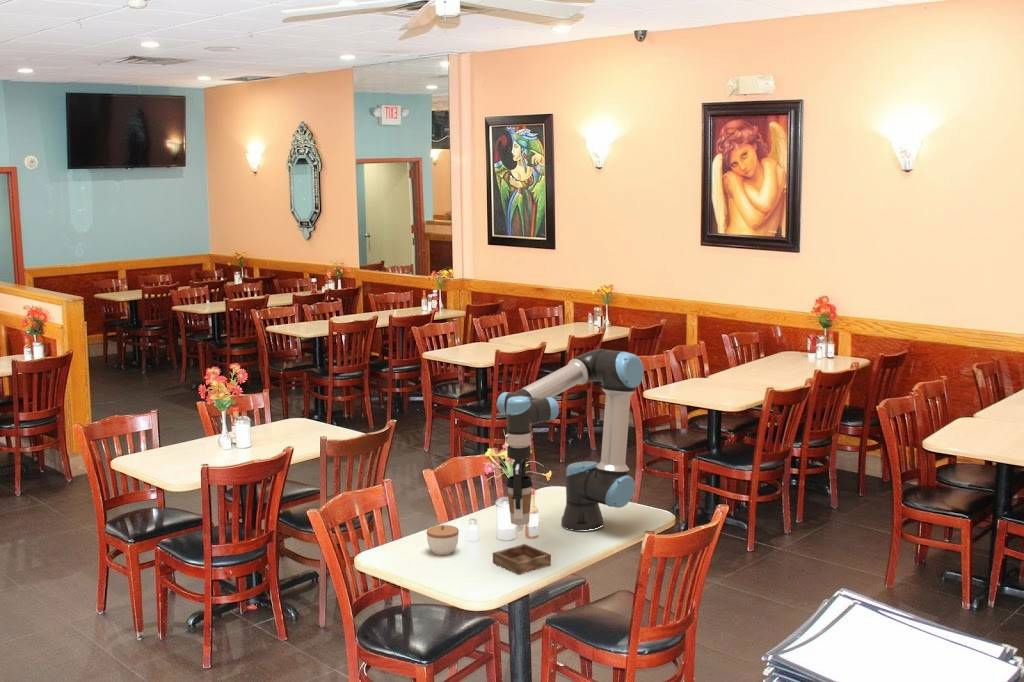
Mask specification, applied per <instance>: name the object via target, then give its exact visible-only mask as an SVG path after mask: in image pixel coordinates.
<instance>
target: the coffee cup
mask: <svg viewBox="0 0 1024 682" xmlns="http://www.w3.org/2000/svg"><path fill="white" fill-rule="evenodd" d="M521 482H522V498H523V519H514V499H512V498H511V497H513V475H511V476H509V477H507V482H506V487H507V499H508V506H509V515H510V516H509V517H510V523H511V524H512V525H515V526H525V525H528V524H529V522H530V514H531V504H532V503H531V501H532V487H533V482H532V478H531V476H528V475H526V476H524V478H522V480H521Z"/></svg>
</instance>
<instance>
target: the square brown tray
mask: <svg viewBox="0 0 1024 682" xmlns="http://www.w3.org/2000/svg"><path fill="white" fill-rule="evenodd" d="M493 563H494V564H493ZM492 564H493V565H495V564H496V566H497V567H500V566H501V568H502V569H504V568H505V569H504V570H507V571H509V572H511V571H512V573H513V572H514V573H513V574H515V573H516V575H517V576H520V575H523V574H526V573H525V572H527V573H529V571H530V572H533V571H536V569H537V570H539V569H542V568H547V567H549V566H551V565H552V554H550V553H548V552H545V551H543V550H540V549H538V548H535V547H533V546H530V545H529V544H526V543H522V544H520V545H516V546H513V547H509V548H504V549H502V550H498V551H495V552H494V551H493V552H492ZM546 566H547V567H546ZM532 570H533V571H532ZM522 573H523V574H522ZM519 574H520V575H519Z"/></svg>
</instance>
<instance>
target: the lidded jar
mask: <svg viewBox="0 0 1024 682" xmlns="http://www.w3.org/2000/svg"><path fill="white" fill-rule="evenodd" d="M459 532H460V530H459V528H458V527H456V526H454V525H449V524H447V525H446V524H439V525H434V526H431V527H428V528H427V530H426V540H427V545H428V547H429V549H430V550H431V551H432V552H433V553H434V555H437V554H439V555H438V556H447V555H446V554H448V555H450V553H451V552H452V553H453V551H454V550H455V549H457V545H458V542H459ZM452 553H451V554H452Z"/></svg>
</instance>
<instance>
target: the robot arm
mask: <svg viewBox="0 0 1024 682" xmlns="http://www.w3.org/2000/svg"><path fill="white" fill-rule="evenodd" d="M644 370H645V367H644V365H643V362H642V360H641V359H640V358H639V356H638V355H636V354H635V353H632V352H631V353H630V352H628V351H622V350H621V351H619V350H612V349H604V348H599V349H594V350H590V351H587V352H584V353H582V354H580V355H578V356H575V357H574V358H572V359H570V360H569V361H568V363H567V365H565V366H563V367H561V368H559V369H556V370H555V371H553V372H551V373H549V374H547V375H545V376H543V377H542V378H539V379H538V380H536V381H534V382H532V383H530V384H528V385H526V386H524V387H522V388H521V389H519V390H516V391H514V392H509V391H508V392H507V391H504V392H502V393H501V394H500V395H499V396H498V398H497V401H496V406H497V407H496V408H497V410H498V412H499V413H501V414H503V415H505V416H506V433H507V434H505V435H504V436H505V437H504V438H506V439H507V446H506V447H507V448H506V452H507V458H508V459H510V460H514V461H513V463H512V476H513V497H511V498H512V499H514V519H523V498H522V482H521V480H522V478H524V476H527V475H526V472H527V470H526V466H527V462H526V460H528V459H530V458H531V455H532V447H531V444H532V439H531V436H532V435H531V434H532V433H531V429H532V428H531V425H536V424H539V423H540V424H541V423H545V422H549V421H553V420H555V419H556V418H557V417H558V416H559V414H560V405H559V403H558V401H557V400H556V399H555V398H553V397H556V396H558V395H560V394H562V393H563V392H565V391H567V390H569V389H571V388H573V387H574V386H576V385H577V386H578V385H585V384H586V383H589V382H599V383H601V390H602V391H603V392H604V394H605V402H604V415H603V425H602V426H603V430H602V441H601V442H602V443H601V453H600V454H601V455H600V462H599V463H598V461H597V462H596V461H587V460H585V461H578V462H572V463H570V464H568V465H567V467H566V471H565V474H566V475H565V495H566V502H565V507H564V510H563V515H562V517H561V527H562V526H563V528H564V527H565V528H568V529H573V530H589V529H595V528H598V527H600V526H602V525H603V526H604V517H603V515H602V511H601V507H600V505H599V504H602V505H605V506H608V507H609V508H610V507H611V508H617V509H618V508H619V509H620V508H623V507H625V506H626V505H628V504H629V503H630V501H631V500H632V499H633V497H634V494H635V489H636V482H635V481H634V478H633V477H632V476H630V468H629V467H628V465H627V464H626V459H627V448H628V432H629V420H630V406H631V405H630V404H631V397H632V395H633V394H635V393H636V388H637V387H638V386H640V385H641V383H642V381H643V379H644V375H645V371H644ZM565 528H564V529H565ZM568 529H567V530H568Z"/></svg>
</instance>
